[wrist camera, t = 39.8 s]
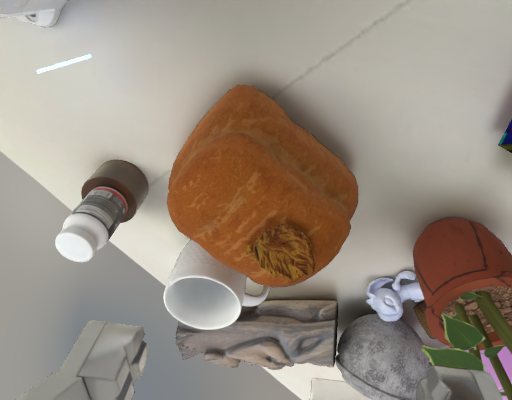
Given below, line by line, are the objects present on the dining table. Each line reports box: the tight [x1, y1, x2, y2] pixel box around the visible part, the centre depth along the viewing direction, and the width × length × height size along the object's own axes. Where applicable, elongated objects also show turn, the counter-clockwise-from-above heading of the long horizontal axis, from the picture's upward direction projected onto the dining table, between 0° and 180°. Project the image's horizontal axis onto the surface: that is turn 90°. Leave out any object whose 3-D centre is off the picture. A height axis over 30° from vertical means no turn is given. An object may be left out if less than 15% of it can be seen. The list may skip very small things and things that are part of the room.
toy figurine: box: [366, 271, 424, 322], centre depth 59 cm, size 7×6×12 cm
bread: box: [167, 85, 358, 287], centre depth 44 cm, size 18×22×17 cm
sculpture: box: [176, 300, 338, 370], centre depth 64 cm, size 12×12×28 cm
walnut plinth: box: [82, 160, 149, 223], centre depth 54 cm, size 8×8×5 cm
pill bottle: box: [55, 187, 128, 262], centre depth 48 cm, size 6×6×10 cm
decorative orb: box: [336, 314, 430, 400], centre depth 62 cm, size 15×14×15 cm
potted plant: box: [413, 218, 512, 400], centre depth 41 cm, size 17×16×35 cm
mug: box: [163, 239, 270, 330], centre depth 55 cm, size 15×11×13 cm
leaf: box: [245, 224, 316, 283], centre depth 37 cm, size 6×7×2 cm
